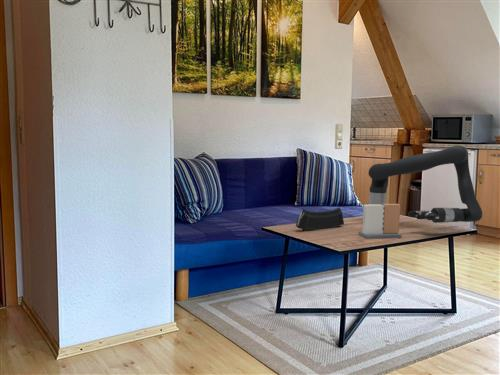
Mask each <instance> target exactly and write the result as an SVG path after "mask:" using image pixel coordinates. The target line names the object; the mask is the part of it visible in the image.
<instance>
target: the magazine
mask: <svg viewBox="0 0 500 375" xmlns="http://www.w3.org/2000/svg"><path fill="white" fill-rule="evenodd" d="M343 216H344V215H343V212H342V209H341V207H337V208H335V209H331V210H324V211H311V210H310V211H309V210H306V209H302V211H301V212H300V213H299V216H298V217H297V219H296V224H295V227H297V229H301V232H304V231H320V230H328V229H332V228H337V227H339V226H344V225H345V222H344V217H343Z"/></svg>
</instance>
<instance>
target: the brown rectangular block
mask: <svg viewBox="0 0 500 375" xmlns="http://www.w3.org/2000/svg"><path fill="white" fill-rule="evenodd" d="M383 205H385V206H384V207H385V208H384V226H383V233H399V234H400V217H401V204H399V203H386V204H383Z"/></svg>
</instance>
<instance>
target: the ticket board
mask: <svg viewBox="0 0 500 375" xmlns="http://www.w3.org/2000/svg"><path fill="white" fill-rule="evenodd" d="M384 206H385V205H383V204H374V205H369V204H363V210H362V211H363V212H362V228H361V229H362V230H358V233H357V234H358V235H359V236H361V237H362V238H365V239H367V240H369V239H372V240H373V239H401V238H402V234H401V233H400V232H399V233H383V226H384V208H385V207H384Z"/></svg>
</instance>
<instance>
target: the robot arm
mask: <svg viewBox="0 0 500 375" xmlns="http://www.w3.org/2000/svg"><path fill="white" fill-rule="evenodd" d="M451 164H453V166H454V169H455V171H456V177H457V186H458V193H459V194H458V195H459V197H460V201H461V203H462V204H463V205H466V207H467V208H466V207H465V208H460V207H433V208H432V209H431V210H417V209H416V210H414V211H408V213H407V216H408V217H416V219H417V220H425V221H431V222H432V223H435V224H437V223H438V224H439V223H440V224H441V223H443V224H445V223H458V222H463V223H471V222H472V223H473V222H479V221H480V220H481V219H482V218H483V211H482V208H481V205H480V203H479V201H478V200H477V198H476V194H475V189H474V184H473V181H472V178H471V171H470V165H469V151H468V149H467V148H466V147H465V146H462V145H459V144H458V145H453V146H450V147H447V148H444V149H441V150H437V151H432V152H425V153H419V154H415V155H410V156H406V157H402V158H400V159H397V160H394V161H391V162H385V163H375V164H372V165H371V166H370V168H369V169H368V176H369V178H370V179H371V184H370V186H369V193H368V195H369V196H368V197H369V198H368V199H369V200H368V205H374V204H387V190H388V188H389V178H390V177H393V176H399V175H409V174H416V173H420V172H424V171H428V170H431V169H433V168H435V167H439V166H444V165H451Z"/></svg>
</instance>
